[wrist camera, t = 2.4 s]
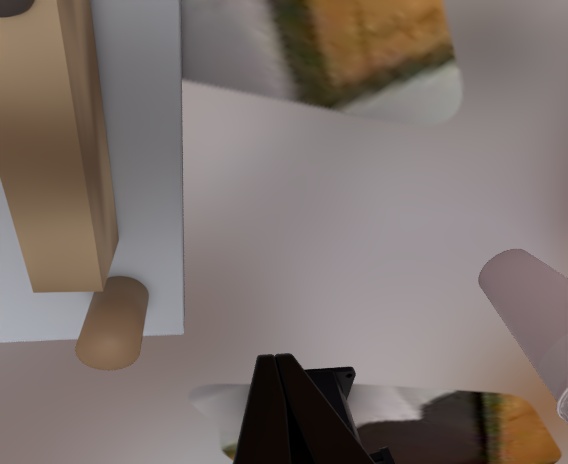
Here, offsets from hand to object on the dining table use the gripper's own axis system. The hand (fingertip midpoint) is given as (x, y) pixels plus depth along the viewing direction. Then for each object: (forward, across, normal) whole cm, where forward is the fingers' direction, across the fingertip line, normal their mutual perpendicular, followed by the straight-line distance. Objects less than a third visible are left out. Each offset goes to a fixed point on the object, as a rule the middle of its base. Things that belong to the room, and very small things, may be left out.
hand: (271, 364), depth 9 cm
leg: (+10, +7, -3) cm, 12 cm away
